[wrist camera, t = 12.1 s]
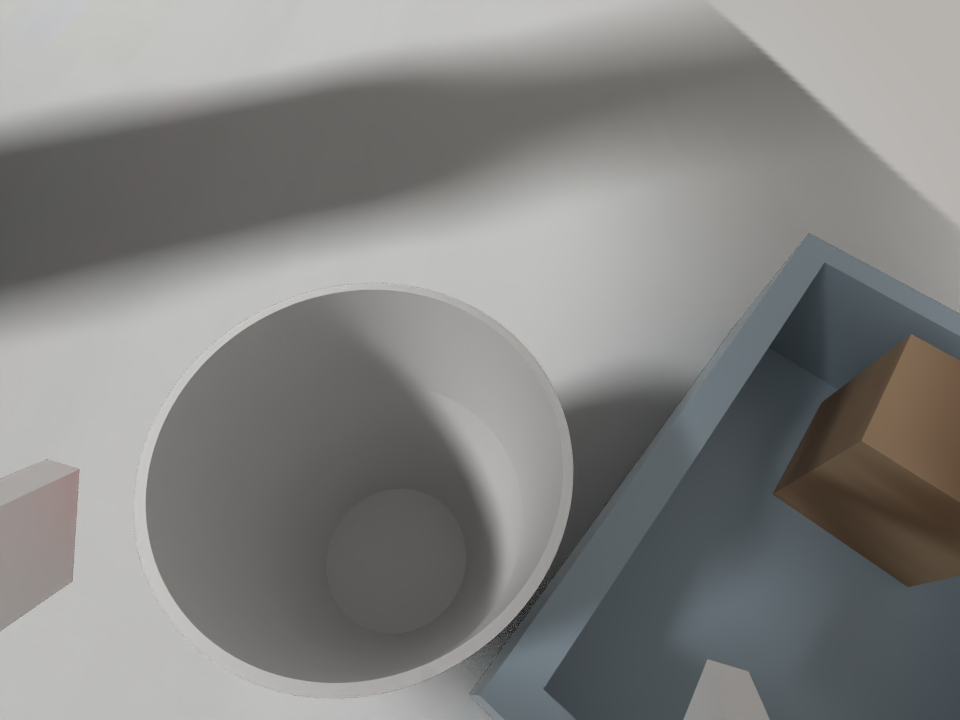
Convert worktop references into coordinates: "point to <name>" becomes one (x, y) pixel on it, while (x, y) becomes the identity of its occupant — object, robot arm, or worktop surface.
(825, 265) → the tote
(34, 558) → the robot arm
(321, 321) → the cup
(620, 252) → the worktop surface
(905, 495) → the walnut cube
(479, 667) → the worktop surface
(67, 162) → the worktop surface
